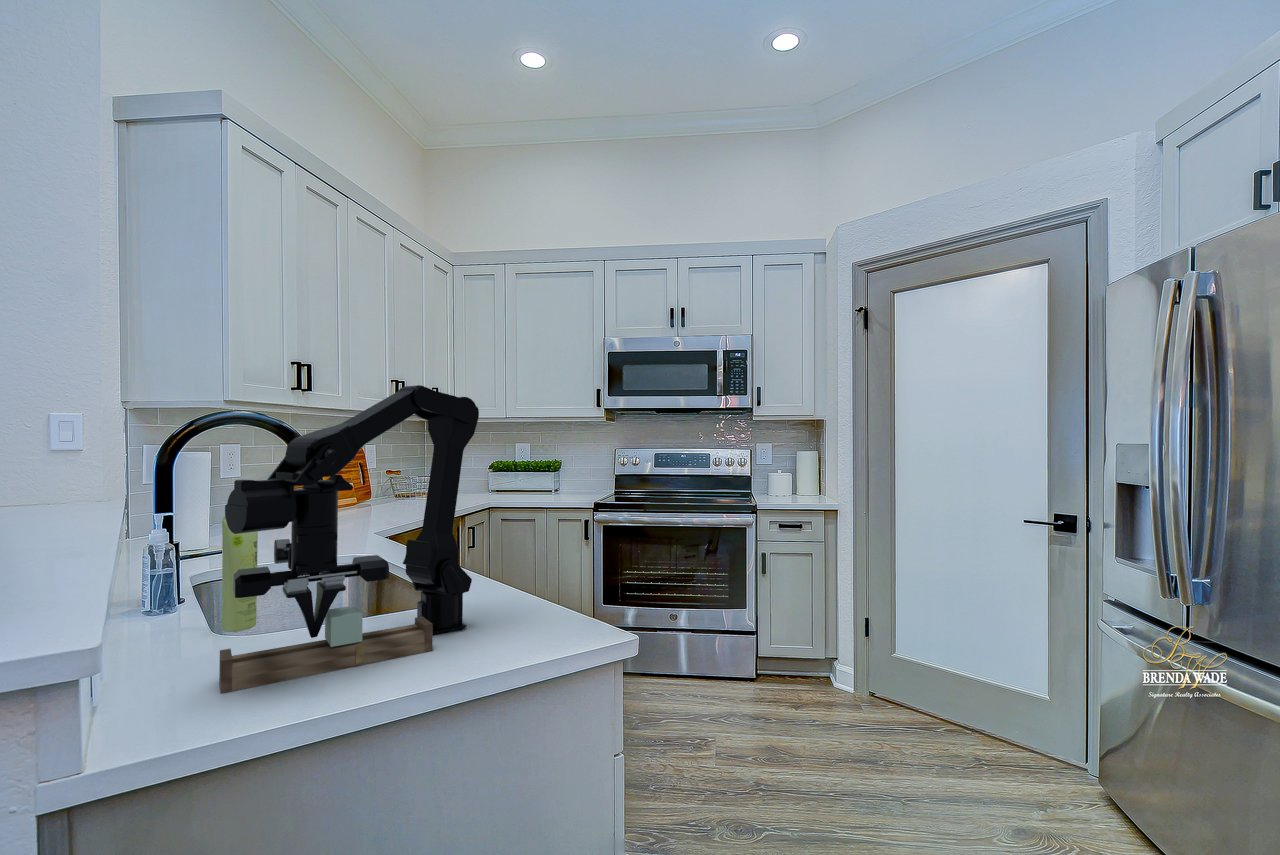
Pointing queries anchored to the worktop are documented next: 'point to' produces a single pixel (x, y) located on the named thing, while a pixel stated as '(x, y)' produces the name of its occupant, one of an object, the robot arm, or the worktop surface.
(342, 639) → the block
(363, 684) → the worktop surface
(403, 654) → the rail
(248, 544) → the tube
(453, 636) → the worktop surface
